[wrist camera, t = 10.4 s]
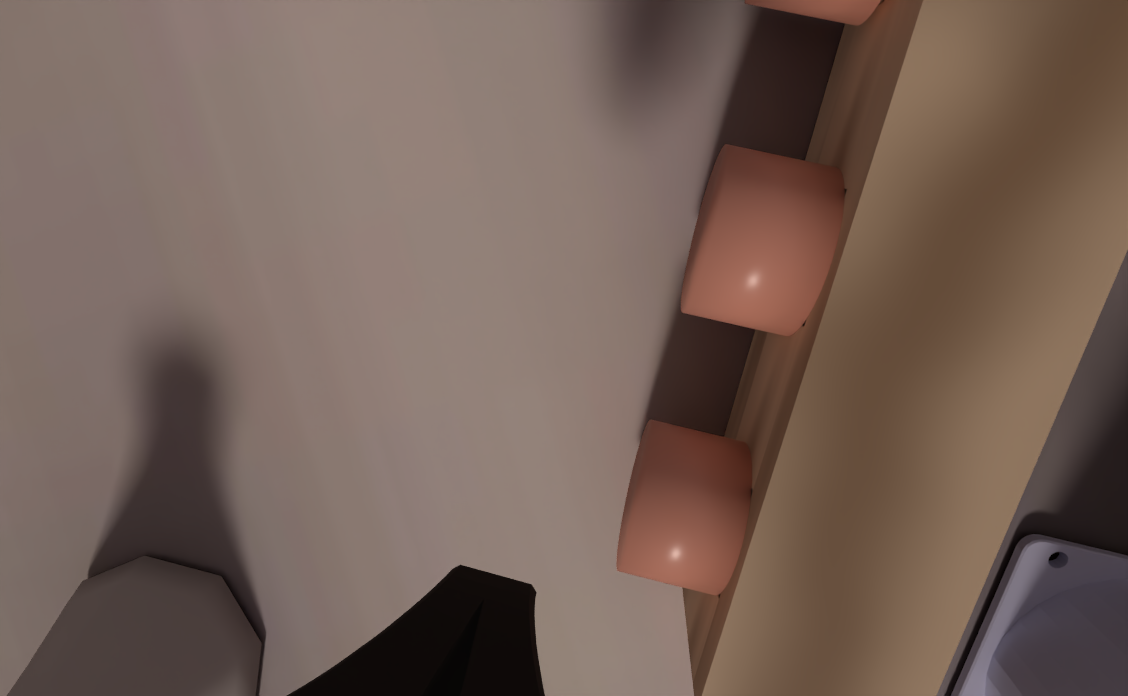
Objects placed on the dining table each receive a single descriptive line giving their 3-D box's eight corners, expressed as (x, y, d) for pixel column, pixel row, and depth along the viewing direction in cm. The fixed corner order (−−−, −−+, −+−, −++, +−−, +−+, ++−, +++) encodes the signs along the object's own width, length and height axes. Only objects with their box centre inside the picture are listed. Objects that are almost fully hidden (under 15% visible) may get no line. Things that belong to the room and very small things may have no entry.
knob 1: (949, 470, 18) (1034, 545, 14) (901, 593, 19) (968, 694, 15) (650, 399, 19) (653, 454, 15) (618, 522, 20) (613, 603, 16)
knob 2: (1047, 220, 16) (1174, 228, 12) (989, 369, 17) (1090, 419, 14) (715, 149, 17) (738, 136, 13) (676, 298, 18) (687, 328, 14)
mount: (1129, -176, 15) (1395, -374, 10) (836, 619, 21) (904, 768, 15) (914, -214, 15) (1058, -428, 10) (681, 580, 21) (696, 713, 16)
